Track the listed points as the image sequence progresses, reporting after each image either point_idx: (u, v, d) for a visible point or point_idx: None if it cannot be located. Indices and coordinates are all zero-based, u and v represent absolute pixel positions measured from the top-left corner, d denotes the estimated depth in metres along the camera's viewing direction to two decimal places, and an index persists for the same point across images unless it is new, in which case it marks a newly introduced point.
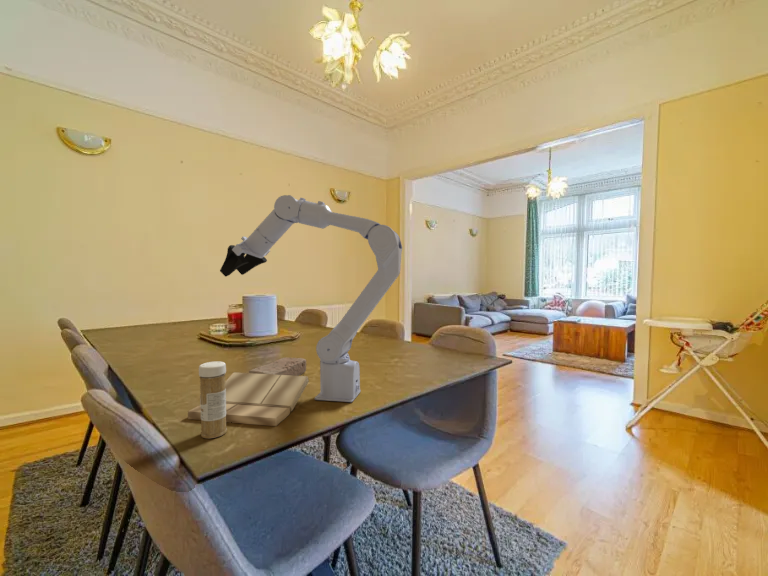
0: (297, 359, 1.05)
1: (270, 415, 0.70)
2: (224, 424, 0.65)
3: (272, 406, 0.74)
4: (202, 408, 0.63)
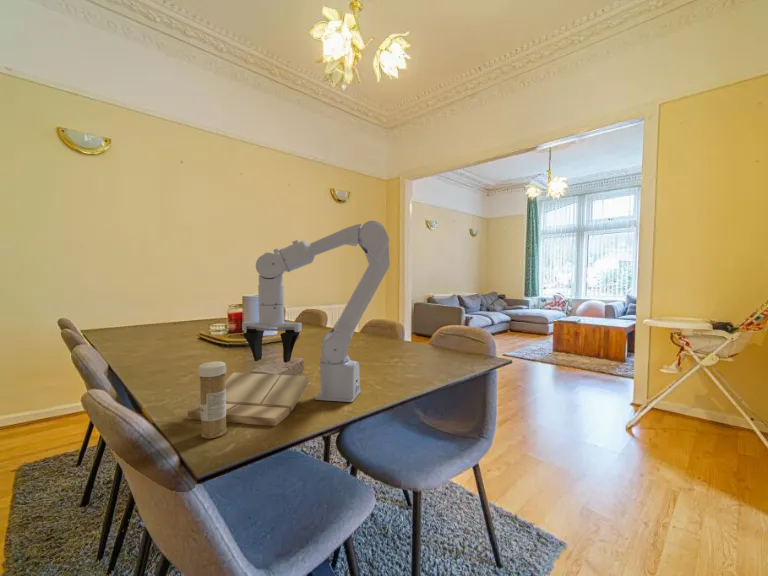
0: (295, 359, 1.06)
1: (270, 415, 0.70)
2: (224, 424, 0.65)
3: (272, 406, 0.74)
4: (202, 408, 0.63)
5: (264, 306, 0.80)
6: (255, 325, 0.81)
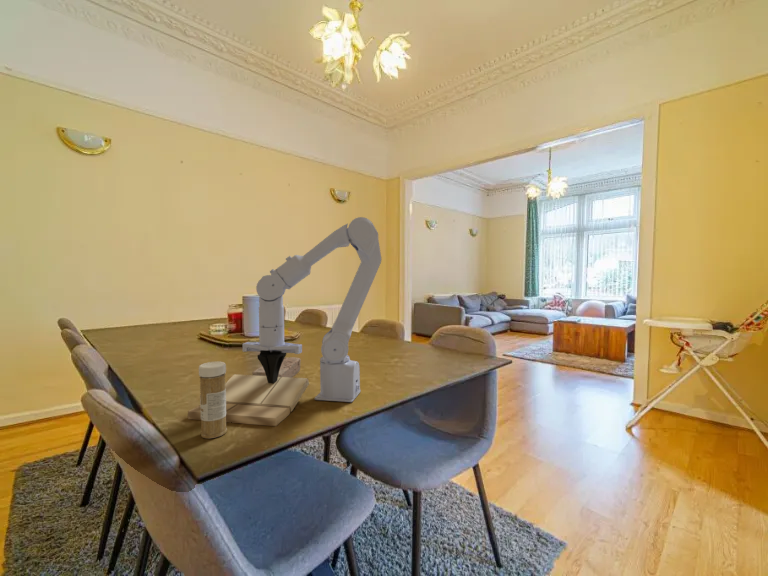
0: (291, 358, 1.06)
1: (270, 415, 0.70)
2: (224, 424, 0.65)
3: (272, 406, 0.74)
4: (202, 408, 0.63)
5: (264, 328, 0.80)
6: (255, 347, 0.81)
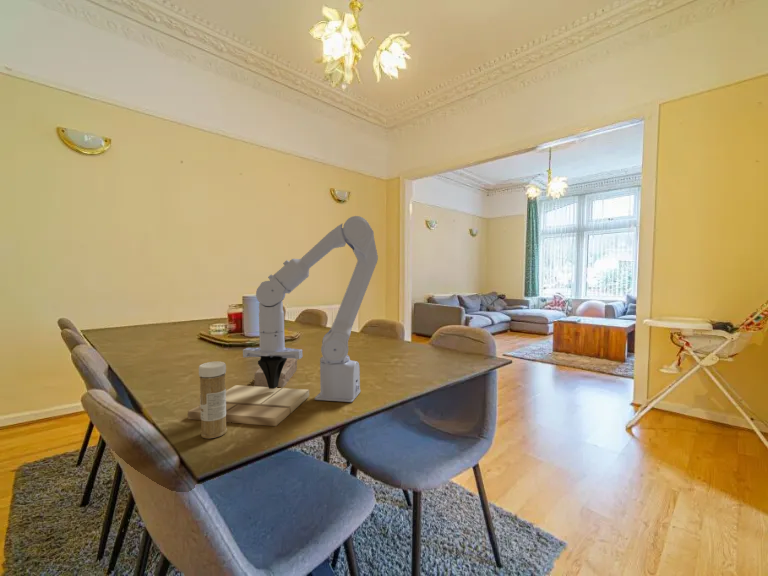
0: (288, 358, 1.07)
1: (270, 415, 0.70)
2: (224, 424, 0.65)
3: (272, 406, 0.74)
4: (202, 408, 0.63)
5: (265, 334, 0.80)
6: (256, 352, 0.81)
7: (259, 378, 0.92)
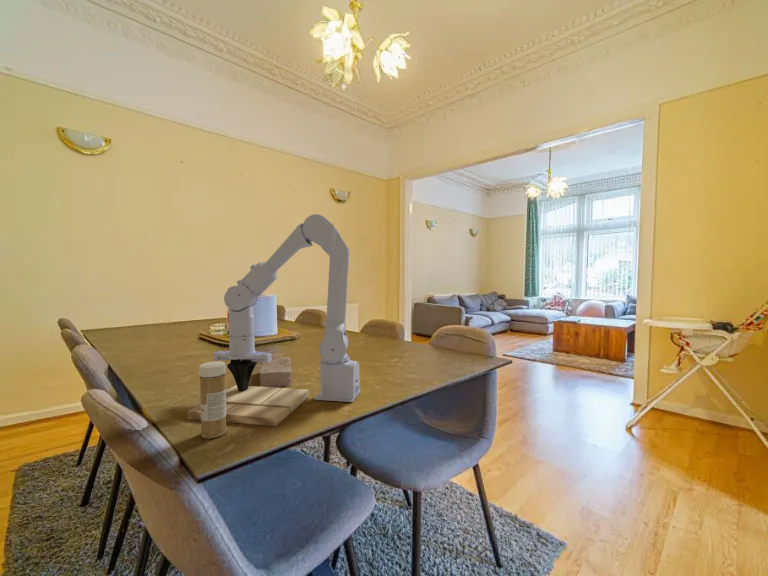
0: (282, 358, 1.07)
1: (270, 415, 0.70)
2: (224, 424, 0.65)
3: (272, 406, 0.74)
4: (202, 408, 0.63)
5: (234, 338, 0.81)
6: (225, 356, 0.83)
7: (266, 379, 0.92)
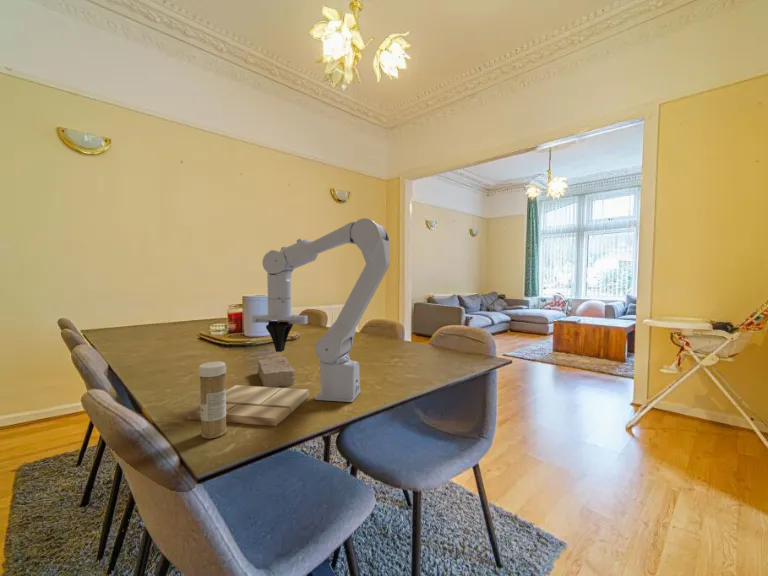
0: (278, 358, 1.07)
1: (270, 415, 0.70)
2: (224, 424, 0.65)
3: (272, 406, 0.74)
4: (202, 408, 0.63)
5: (273, 300, 0.86)
6: (264, 317, 0.87)
7: (270, 379, 0.92)
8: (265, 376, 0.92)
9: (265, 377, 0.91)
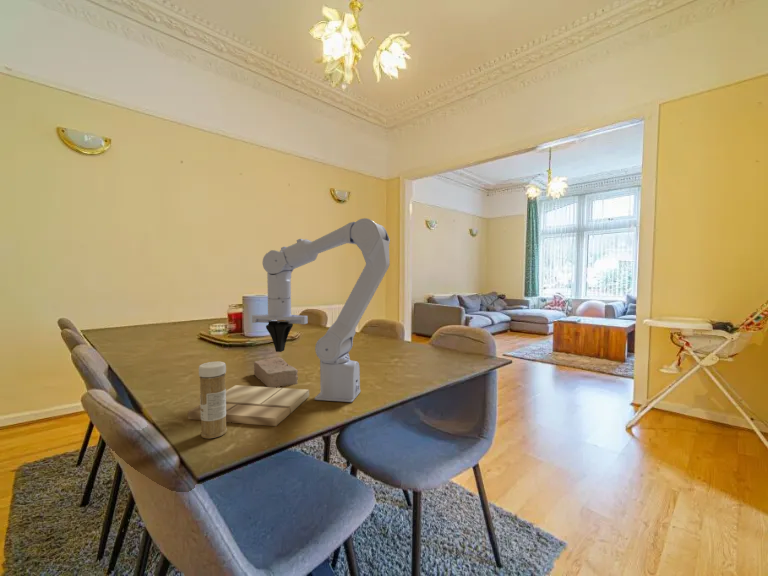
0: (274, 358, 1.06)
1: (270, 415, 0.70)
2: (224, 424, 0.65)
3: (272, 406, 0.74)
4: (202, 408, 0.63)
5: (273, 300, 0.86)
6: (264, 317, 0.87)
7: (275, 378, 0.92)
8: (269, 376, 0.92)
9: (269, 377, 0.91)
